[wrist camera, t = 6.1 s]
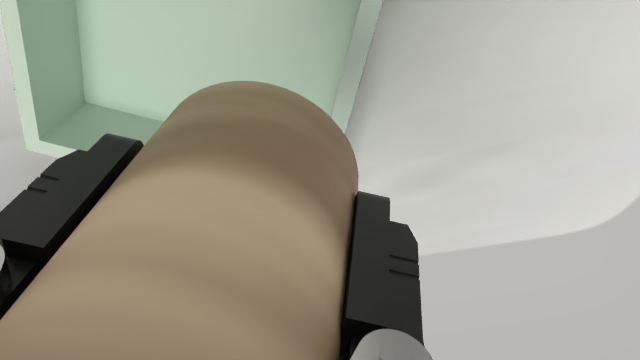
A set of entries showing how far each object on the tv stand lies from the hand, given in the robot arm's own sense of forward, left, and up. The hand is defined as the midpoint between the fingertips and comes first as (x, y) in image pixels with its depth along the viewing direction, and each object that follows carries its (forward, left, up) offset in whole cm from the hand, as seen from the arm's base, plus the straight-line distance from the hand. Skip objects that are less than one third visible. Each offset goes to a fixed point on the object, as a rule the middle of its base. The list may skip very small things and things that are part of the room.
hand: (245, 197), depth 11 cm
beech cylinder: (0, 0, -1) cm, 1 cm away
